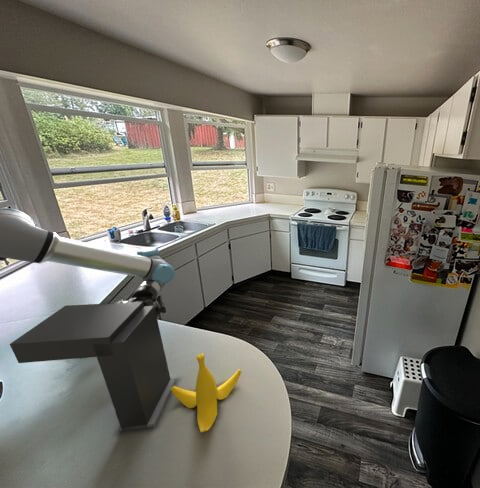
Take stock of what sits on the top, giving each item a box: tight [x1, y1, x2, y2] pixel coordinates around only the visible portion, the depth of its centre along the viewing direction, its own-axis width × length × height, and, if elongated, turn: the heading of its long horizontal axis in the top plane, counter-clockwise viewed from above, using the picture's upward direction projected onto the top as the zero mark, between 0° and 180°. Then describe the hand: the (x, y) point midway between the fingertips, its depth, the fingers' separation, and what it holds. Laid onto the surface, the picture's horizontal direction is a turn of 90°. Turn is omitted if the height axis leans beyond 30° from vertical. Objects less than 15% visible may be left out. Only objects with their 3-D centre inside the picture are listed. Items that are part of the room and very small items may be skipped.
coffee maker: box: [9, 302, 177, 432], centre depth 64 cm, size 22×14×28 cm, turn 99°
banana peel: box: [171, 353, 242, 433], centre depth 65 cm, size 17×19×17 cm
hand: (123, 327), depth 81 cm, fingers open, 13 cm apart
